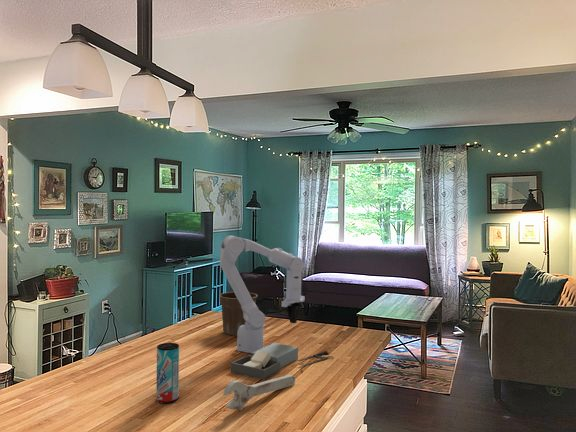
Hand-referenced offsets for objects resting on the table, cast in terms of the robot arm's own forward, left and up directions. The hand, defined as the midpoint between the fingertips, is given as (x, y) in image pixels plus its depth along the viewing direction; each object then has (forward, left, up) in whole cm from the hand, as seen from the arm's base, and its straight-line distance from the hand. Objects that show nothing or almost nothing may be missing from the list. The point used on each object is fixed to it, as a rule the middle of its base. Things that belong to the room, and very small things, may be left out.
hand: (293, 322), depth 180 cm
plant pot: (-30, +5, -10) cm, 32 cm away
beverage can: (-4, -62, -10) cm, 63 cm away
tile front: (+4, -32, -6) cm, 33 cm away
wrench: (+17, -47, -10) cm, 51 cm away
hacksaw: (+15, -12, -10) cm, 22 cm away
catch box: (+4, -30, -9) cm, 32 cm away
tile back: (+4, -27, -7) cm, 28 cm away
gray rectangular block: (+4, -18, -9) cm, 21 cm away
